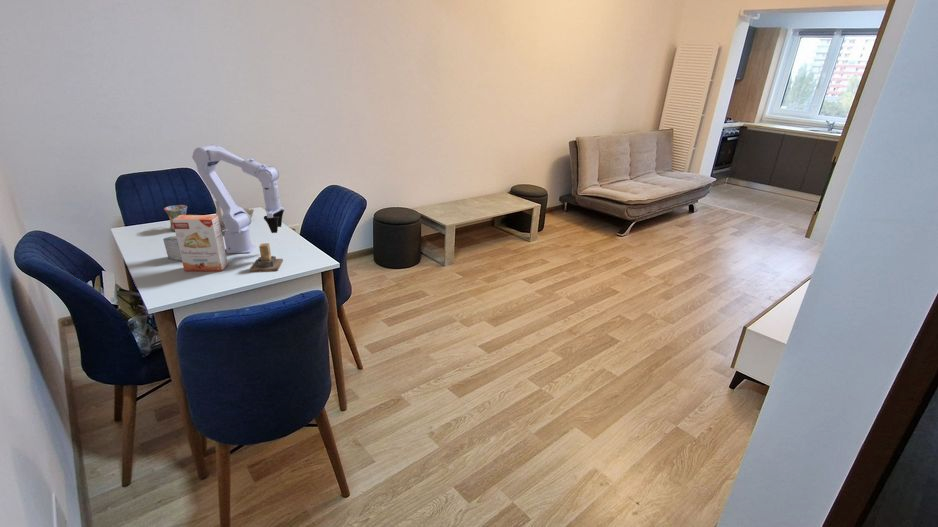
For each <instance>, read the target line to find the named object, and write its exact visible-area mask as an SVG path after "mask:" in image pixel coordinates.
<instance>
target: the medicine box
mask: <svg viewBox="0 0 938 527" xmlns="http://www.w3.org/2000/svg"><path fill="white" fill-rule="evenodd" d="M163 244H164V248H165V250H166V255H167V259H169V258H170V259H171V260H176V261H182V258H181V254H180V250H179V246H178V242H177V237H176V235H170V236H166V237H165V238H163Z"/></svg>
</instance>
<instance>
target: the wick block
mask: <svg viewBox="0 0 938 527" xmlns="http://www.w3.org/2000/svg"><path fill="white" fill-rule="evenodd" d="M258 248H259V254H260V257H261V261H271V260H272V259H271V256H272V252H271V246H270V243H266V242H265V243H260V244H259V247H258Z"/></svg>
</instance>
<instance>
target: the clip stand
mask: <svg viewBox="0 0 938 527" xmlns="http://www.w3.org/2000/svg"><path fill="white" fill-rule="evenodd" d="M271 259H272V260H271V261H261V256H259V257H258V258H257V259H256V260H255V261H254V263H253V264H252V265H251V267H250V268H249V272H250V273H255V272H256V273H257V272H258V273H259V271H261V272H278V271H279V269H280V267H281V266H282V263H283V261H284V259H283V258H277V257H276V256H275V255H271Z"/></svg>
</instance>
